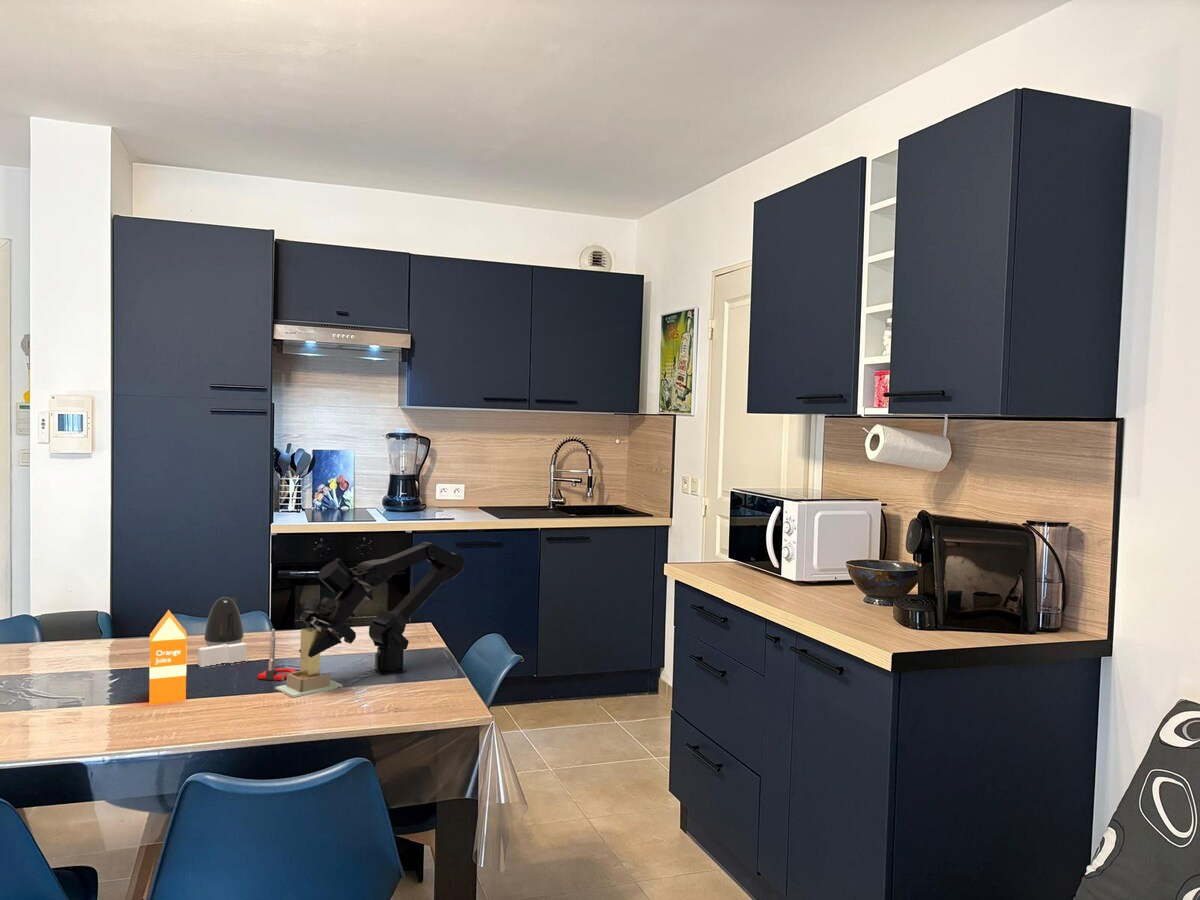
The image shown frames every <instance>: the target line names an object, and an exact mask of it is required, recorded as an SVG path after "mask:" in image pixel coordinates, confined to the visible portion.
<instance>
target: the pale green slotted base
mask: <svg viewBox="0 0 1200 900" xmlns="http://www.w3.org/2000/svg"><path fill="white" fill-rule="evenodd" d="M296 671H297V670H296ZM286 674H287V678H286V684H282V685H279V686H274V690H276V689H277V690H276V691H278V690H279V691H278V692H280V691H281V692H280V693H282V692H283V694H284V693H285V694H284V695H286V694H288V695H289V696H288V695H287V696H288V697H290V696H292V697H295V698H299V697H303V696H302V695H304V696H307V695H306V694H308V695H312V694H311V693H313V694H316V693H317V694H318V693H321V691H322V692H326V691H330V689H331V690H335V689H339V688H338V687H340V688H343V684H342V683H340V682H338V681H336V680H333V679H331V673H324V674H320V675H319V676H314V677H309V678H305V679H301V678H299V677H296V676H300V670H298V671H297V672H292V673H287V672H286ZM334 688H335V689H334ZM325 690H326V691H325ZM298 696H299V697H298ZM292 697H291V698H292Z"/></svg>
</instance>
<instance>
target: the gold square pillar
mask: <svg viewBox="0 0 1200 900" xmlns="http://www.w3.org/2000/svg"><path fill="white" fill-rule="evenodd" d="M319 637H320V630H318V629H315V628H312V627H311V628H307V627H306V628H301V629H300V648H299V650H301V653H300V652H299V654H300V657H299V658H300V661H299V662H300V663H299V664H300V666H299V667H300V668H299V671H300V676H296V677H299V678H301V679H305V678H309V677H314V676H319V675H321V674H320V672H321V671H320V668H321V663H320V662H321V653H319V654H317V655H315V656H313V657H309V656H308V653H309V652H310V650H311V648H312V647H313V646H314V644H315V643H316V641H317V640H318V638H319Z"/></svg>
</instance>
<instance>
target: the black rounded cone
mask: <svg viewBox="0 0 1200 900" xmlns="http://www.w3.org/2000/svg"><path fill="white" fill-rule="evenodd" d="M237 600H238V597H237V596H234V597H233V598H230V597H227V596H222V597H220V598H218V599H217V600H216V601H215V602H214V603H213V605H212V607H211V609H210V611H209V614H208V618H207V620H206V625H205V628H204V629H205V630H204V637H203V638H204V640H205V643H206V647H210V646H217V645H222V644H227V645H231V644H237V643H242V640H243V639H244V625H243V622H242V621H243V620H242V616H241V613H240V611H239V607H238V606H237V604H236V602H237Z"/></svg>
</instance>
